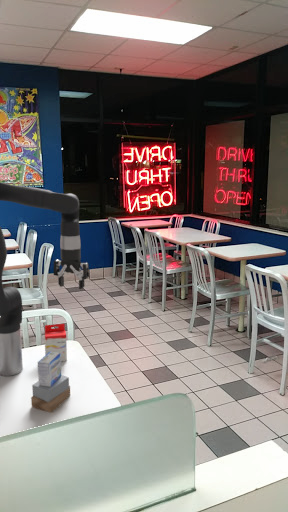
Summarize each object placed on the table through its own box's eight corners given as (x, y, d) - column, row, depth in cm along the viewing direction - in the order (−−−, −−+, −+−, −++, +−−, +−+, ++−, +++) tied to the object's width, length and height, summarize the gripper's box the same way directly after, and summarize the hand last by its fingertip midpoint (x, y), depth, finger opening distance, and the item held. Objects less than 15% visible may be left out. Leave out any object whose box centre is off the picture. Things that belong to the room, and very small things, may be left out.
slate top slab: (32, 395, 132) (32, 384, 131) (53, 382, 140) (53, 371, 139) (48, 402, 128) (47, 391, 127) (69, 387, 137) (68, 377, 136)
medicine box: (50, 387, 129) (49, 363, 127) (38, 385, 130) (37, 361, 128) (61, 375, 137) (60, 352, 135) (50, 373, 138) (49, 350, 136)
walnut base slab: (31, 408, 132) (31, 397, 131) (51, 391, 141) (50, 381, 141) (52, 413, 129) (51, 403, 128) (70, 396, 139) (70, 386, 138)
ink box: (45, 363, 160) (44, 329, 157) (45, 357, 165) (43, 325, 161) (67, 360, 162) (66, 327, 159) (66, 355, 167) (65, 323, 164)
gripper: (48, 247, 149) (50, 288, 153) (82, 250, 144) (83, 292, 148) (59, 243, 156) (60, 282, 160) (91, 246, 151) (92, 286, 155)
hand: (71, 287), depth 154 cm, fingers open, 8 cm apart
